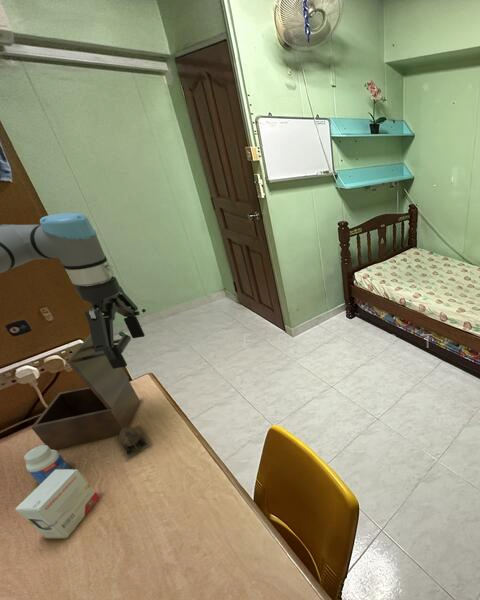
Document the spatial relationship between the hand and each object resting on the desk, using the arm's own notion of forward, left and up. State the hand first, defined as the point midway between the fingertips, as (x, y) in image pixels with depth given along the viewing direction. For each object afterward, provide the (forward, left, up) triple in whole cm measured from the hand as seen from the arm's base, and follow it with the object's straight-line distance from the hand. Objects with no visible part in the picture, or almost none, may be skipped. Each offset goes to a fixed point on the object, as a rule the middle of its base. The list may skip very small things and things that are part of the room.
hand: (130, 350), depth 85 cm
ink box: (-9, -29, -24) cm, 38 cm away
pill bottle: (-18, -16, -24) cm, 34 cm away
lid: (-8, 0, -5) cm, 10 cm away
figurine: (-3, -12, -24) cm, 27 cm away
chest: (-15, 0, -23) cm, 28 cm away
